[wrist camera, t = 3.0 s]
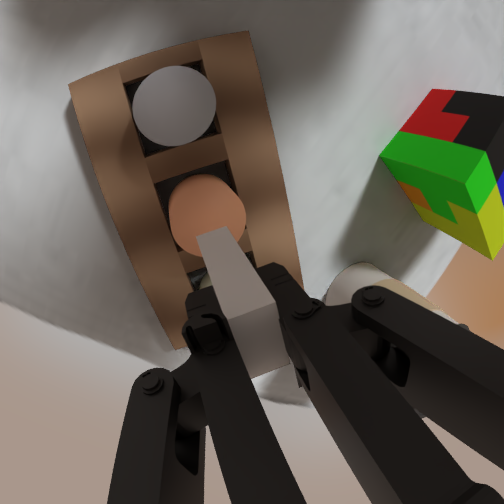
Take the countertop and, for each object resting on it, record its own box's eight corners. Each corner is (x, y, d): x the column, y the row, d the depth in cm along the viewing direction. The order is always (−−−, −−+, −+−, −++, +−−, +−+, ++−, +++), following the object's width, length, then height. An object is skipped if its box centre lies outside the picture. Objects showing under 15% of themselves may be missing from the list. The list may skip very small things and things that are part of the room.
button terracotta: (159, 186, 20) (159, 199, 17) (224, 164, 21) (235, 174, 18) (180, 245, 22) (184, 266, 19) (240, 224, 23) (253, 242, 20)
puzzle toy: (467, 158, 29) (536, 182, 20) (422, 220, 30) (492, 260, 21) (431, 88, 24) (514, 98, 15) (378, 155, 25) (464, 184, 17)
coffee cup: (305, 331, 31) (382, 446, 18) (328, 250, 28) (442, 357, 15) (372, 324, 34) (452, 412, 21) (398, 253, 31) (503, 333, 18)
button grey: (129, 86, 17) (123, 81, 14) (197, 66, 17) (205, 56, 14) (148, 150, 19) (145, 157, 16) (214, 129, 19) (225, 132, 16)
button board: (75, 86, 17) (68, 84, 15) (240, 36, 18) (248, 30, 17) (173, 335, 27) (175, 350, 25) (297, 290, 29) (306, 302, 27)
